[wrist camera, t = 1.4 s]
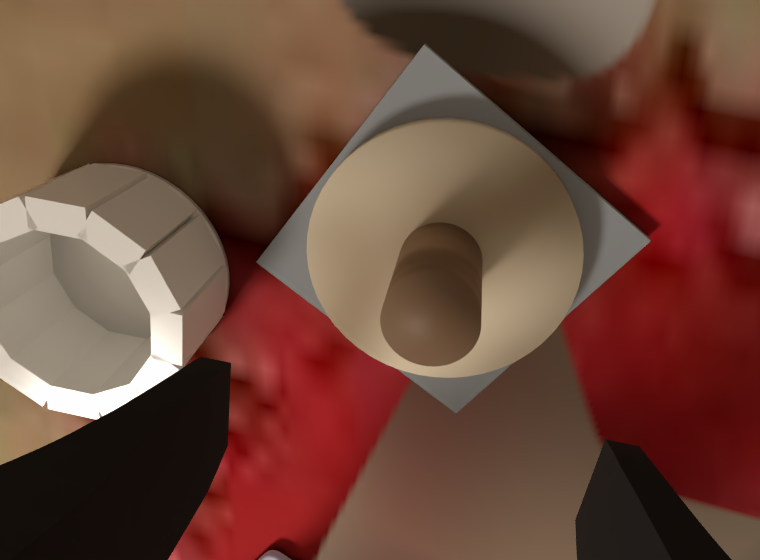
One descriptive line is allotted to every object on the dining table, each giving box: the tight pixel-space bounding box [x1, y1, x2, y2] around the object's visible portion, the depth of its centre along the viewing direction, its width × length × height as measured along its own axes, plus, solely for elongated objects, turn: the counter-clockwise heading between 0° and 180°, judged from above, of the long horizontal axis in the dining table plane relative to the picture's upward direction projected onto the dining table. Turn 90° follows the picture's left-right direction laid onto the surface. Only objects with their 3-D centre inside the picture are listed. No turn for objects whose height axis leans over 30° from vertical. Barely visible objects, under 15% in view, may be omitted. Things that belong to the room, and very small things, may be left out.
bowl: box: [0, 163, 230, 419], centre depth 21 cm, size 8×8×4 cm
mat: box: [256, 44, 650, 413], centre depth 21 cm, size 9×9×1 cm
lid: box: [307, 118, 584, 378], centre depth 19 cm, size 9×9×5 cm
